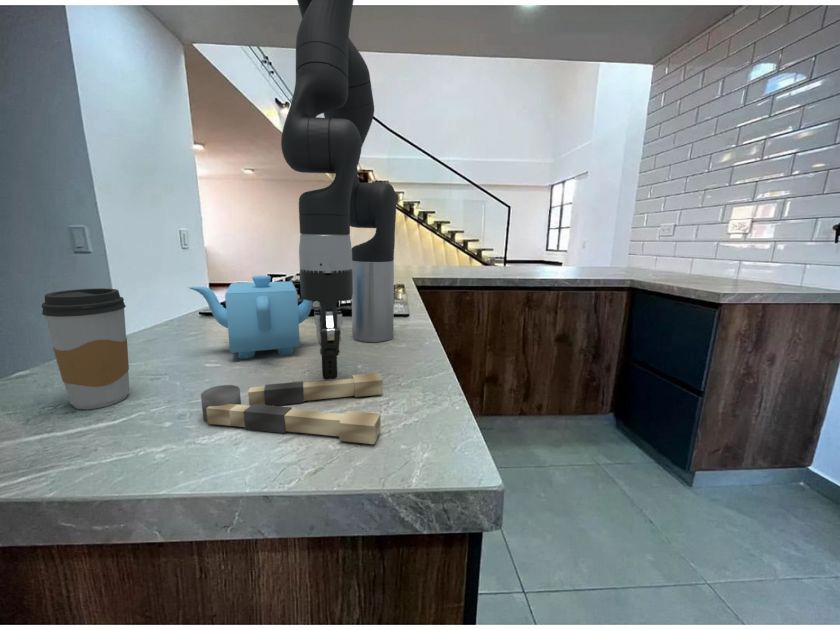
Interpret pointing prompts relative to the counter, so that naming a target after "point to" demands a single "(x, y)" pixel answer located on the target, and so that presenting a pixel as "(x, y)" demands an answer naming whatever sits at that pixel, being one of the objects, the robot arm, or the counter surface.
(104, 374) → the coffee cup
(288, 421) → the tongs frame
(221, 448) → the counter surface
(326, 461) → the counter surface
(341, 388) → the tong arm
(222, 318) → the teakettle
